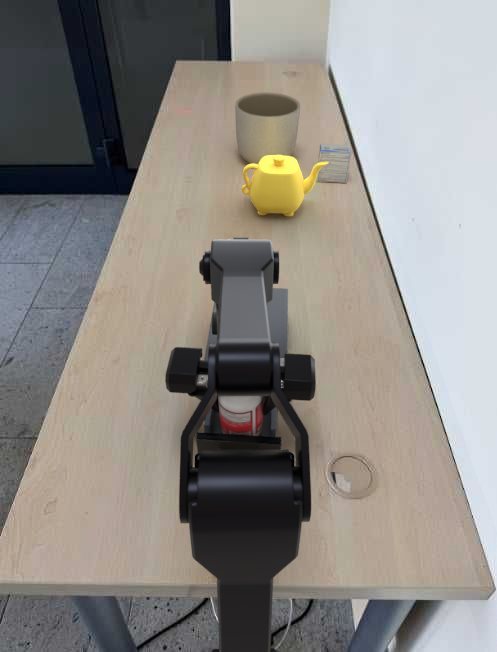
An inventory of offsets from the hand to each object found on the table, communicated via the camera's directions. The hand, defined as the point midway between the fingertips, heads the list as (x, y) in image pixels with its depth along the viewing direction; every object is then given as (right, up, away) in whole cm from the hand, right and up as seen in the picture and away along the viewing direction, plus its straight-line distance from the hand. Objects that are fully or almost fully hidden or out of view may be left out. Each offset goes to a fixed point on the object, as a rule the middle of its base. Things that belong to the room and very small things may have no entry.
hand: (241, 411), depth 68 cm
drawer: (0, -3, +6) cm, 6 cm away
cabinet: (+1, +7, +16) cm, 18 cm away
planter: (+6, +59, +70) cm, 92 cm away
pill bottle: (0, -3, +3) cm, 4 cm away
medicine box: (+23, +51, +62) cm, 84 cm away
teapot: (+9, +41, +52) cm, 67 cm away
